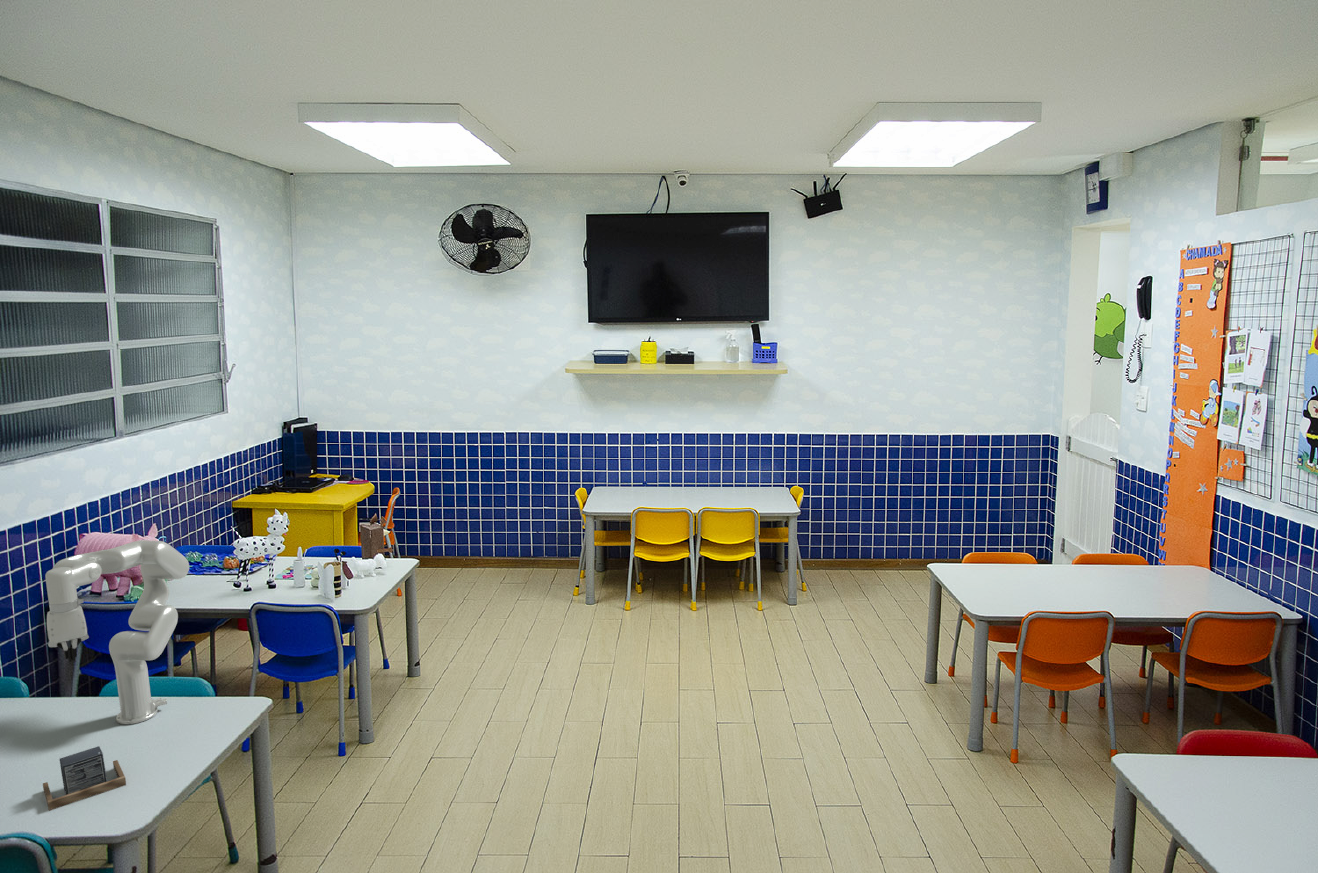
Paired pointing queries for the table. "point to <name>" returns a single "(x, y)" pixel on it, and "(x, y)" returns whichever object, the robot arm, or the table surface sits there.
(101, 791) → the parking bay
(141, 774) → the table surface
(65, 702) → the table surface
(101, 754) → the small box
